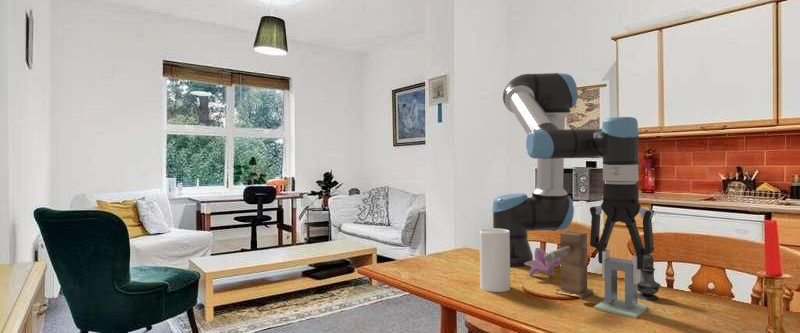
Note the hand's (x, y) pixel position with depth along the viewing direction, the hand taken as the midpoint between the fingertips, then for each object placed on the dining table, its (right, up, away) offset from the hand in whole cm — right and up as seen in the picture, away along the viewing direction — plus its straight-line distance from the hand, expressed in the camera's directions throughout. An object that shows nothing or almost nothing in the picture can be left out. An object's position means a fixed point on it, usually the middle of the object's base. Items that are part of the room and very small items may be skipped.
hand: (620, 279), depth 101 cm
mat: (0, -7, 0) cm, 7 cm away
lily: (-9, -7, +26) cm, 28 cm away
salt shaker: (+11, -7, +8) cm, 15 cm away
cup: (-26, -7, +18) cm, 32 cm away
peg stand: (-10, -7, +8) cm, 15 cm away
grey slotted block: (0, -5, 0) cm, 5 cm away
